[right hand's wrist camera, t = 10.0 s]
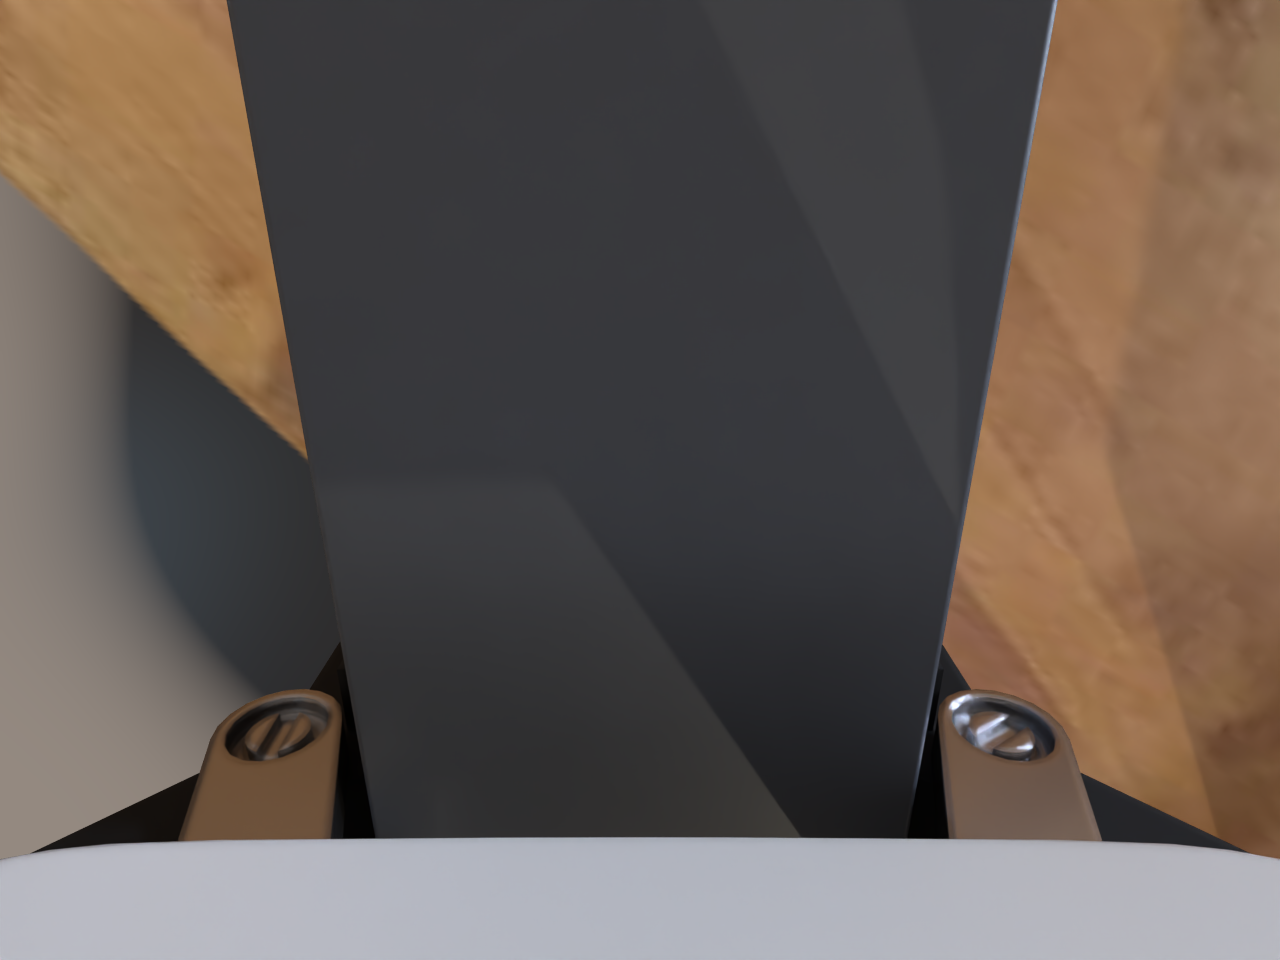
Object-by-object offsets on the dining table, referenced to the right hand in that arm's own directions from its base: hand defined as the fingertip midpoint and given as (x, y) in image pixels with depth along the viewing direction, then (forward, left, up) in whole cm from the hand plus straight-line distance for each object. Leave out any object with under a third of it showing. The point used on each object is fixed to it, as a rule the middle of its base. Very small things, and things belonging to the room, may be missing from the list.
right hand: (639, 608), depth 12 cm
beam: (-16, -29, -3) cm, 33 cm away
